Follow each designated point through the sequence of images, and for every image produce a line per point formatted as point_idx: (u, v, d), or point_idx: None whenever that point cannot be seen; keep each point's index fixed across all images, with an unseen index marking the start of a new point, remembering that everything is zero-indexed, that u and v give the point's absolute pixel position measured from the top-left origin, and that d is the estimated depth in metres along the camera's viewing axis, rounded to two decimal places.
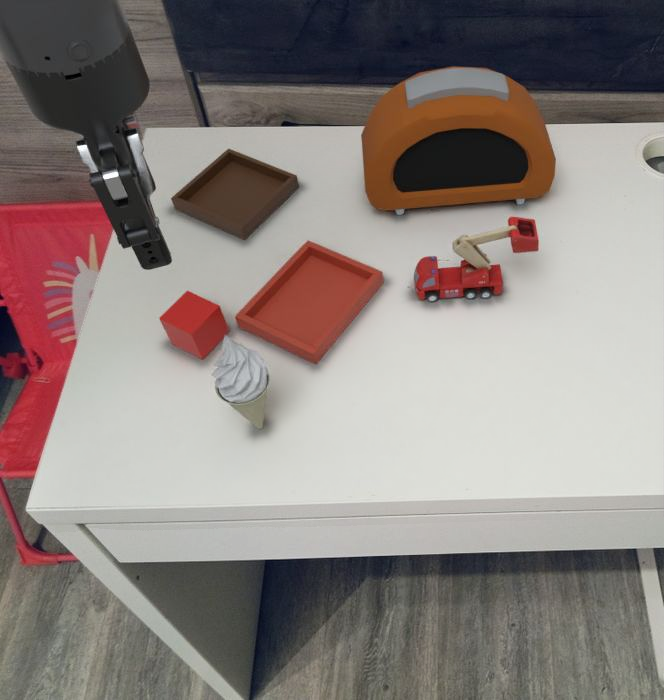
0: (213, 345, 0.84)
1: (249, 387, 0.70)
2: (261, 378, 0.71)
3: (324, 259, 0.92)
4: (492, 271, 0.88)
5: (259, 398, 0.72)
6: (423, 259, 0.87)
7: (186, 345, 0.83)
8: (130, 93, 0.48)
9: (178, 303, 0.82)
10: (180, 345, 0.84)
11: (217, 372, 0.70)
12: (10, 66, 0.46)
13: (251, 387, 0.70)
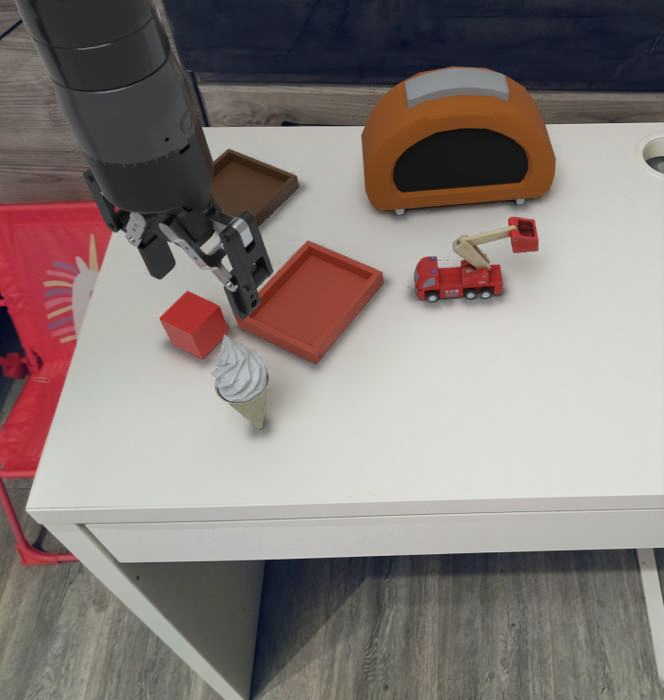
0: (213, 345, 0.84)
1: (249, 386, 0.70)
2: (261, 377, 0.71)
3: (324, 259, 0.92)
4: (492, 271, 0.88)
5: (259, 398, 0.72)
6: (423, 259, 0.87)
7: (186, 345, 0.83)
8: (209, 152, 0.52)
9: (178, 303, 0.82)
10: (180, 345, 0.84)
11: (217, 371, 0.70)
12: (121, 166, 0.47)
13: (251, 386, 0.70)
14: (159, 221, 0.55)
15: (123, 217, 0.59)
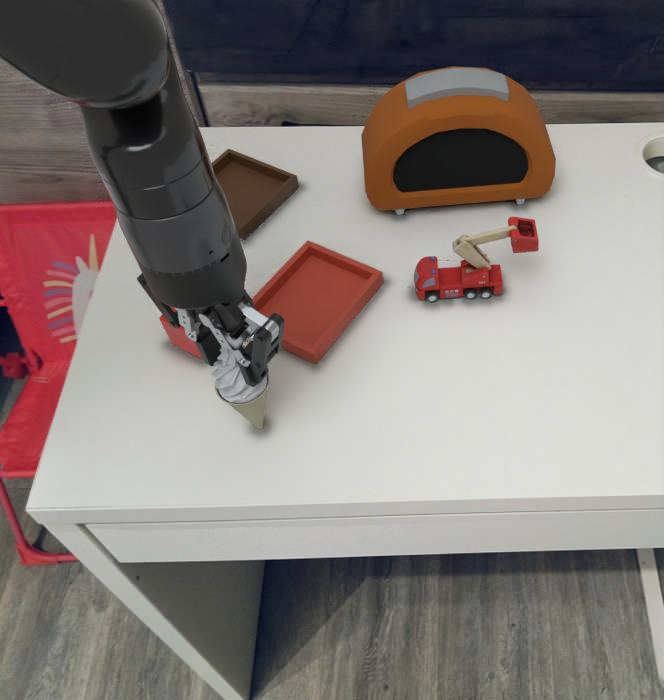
0: None
1: (249, 387, 0.70)
2: None
3: (324, 259, 0.92)
4: (492, 271, 0.88)
5: (259, 398, 0.72)
6: (423, 259, 0.87)
7: (186, 345, 0.83)
8: (243, 254, 0.60)
9: None
10: (180, 345, 0.84)
11: (217, 372, 0.70)
12: (171, 275, 0.55)
13: (251, 387, 0.70)
14: (198, 310, 0.62)
15: None
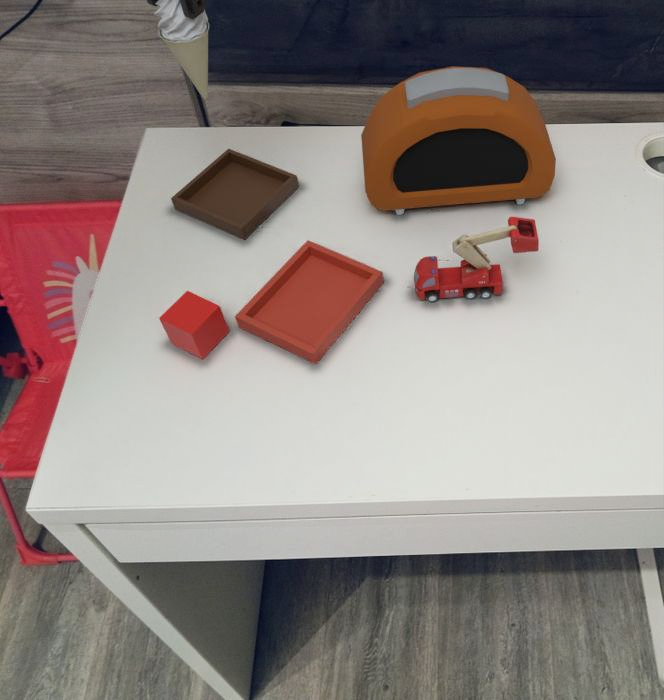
0: (213, 345, 0.84)
1: (188, 24, 0.75)
2: (200, 19, 0.76)
3: (324, 259, 0.92)
4: (492, 271, 0.88)
5: (199, 41, 0.77)
6: (423, 259, 0.87)
7: (186, 345, 0.83)
8: None
9: (178, 303, 0.82)
10: (180, 345, 0.84)
11: None
12: None
13: (190, 24, 0.75)
14: None
15: None
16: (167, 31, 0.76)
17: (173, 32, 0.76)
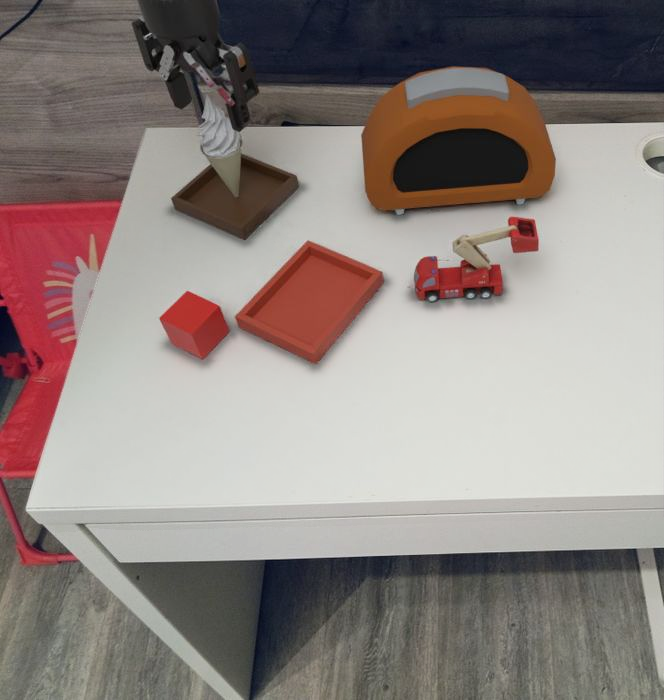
0: (213, 345, 0.84)
1: (226, 143, 0.90)
2: (235, 139, 0.91)
3: (324, 259, 0.92)
4: (492, 271, 0.88)
5: (234, 156, 0.92)
6: (423, 259, 0.87)
7: (186, 345, 0.83)
8: None
9: (178, 303, 0.82)
10: (180, 345, 0.84)
11: (201, 132, 0.90)
12: (162, 2, 0.74)
13: (227, 143, 0.90)
14: (183, 54, 0.82)
15: (157, 60, 0.86)
16: (208, 149, 0.90)
17: (213, 150, 0.91)
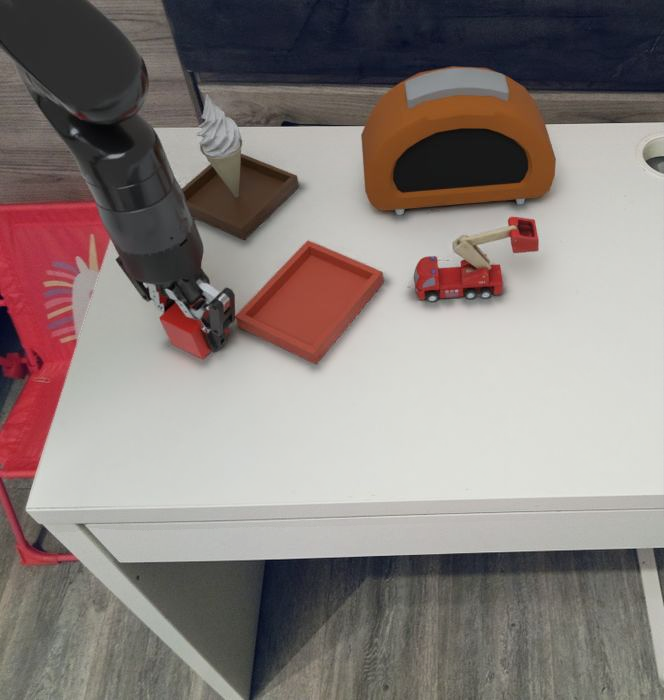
0: None
1: (226, 144, 0.90)
2: (235, 139, 0.91)
3: (324, 259, 0.92)
4: (492, 271, 0.88)
5: (234, 156, 0.92)
6: (423, 259, 0.87)
7: (186, 345, 0.83)
8: (200, 240, 0.75)
9: None
10: (180, 345, 0.84)
11: (201, 132, 0.90)
12: (140, 256, 0.70)
13: (227, 143, 0.90)
14: (165, 286, 0.77)
15: None
16: (208, 149, 0.90)
17: (213, 150, 0.91)
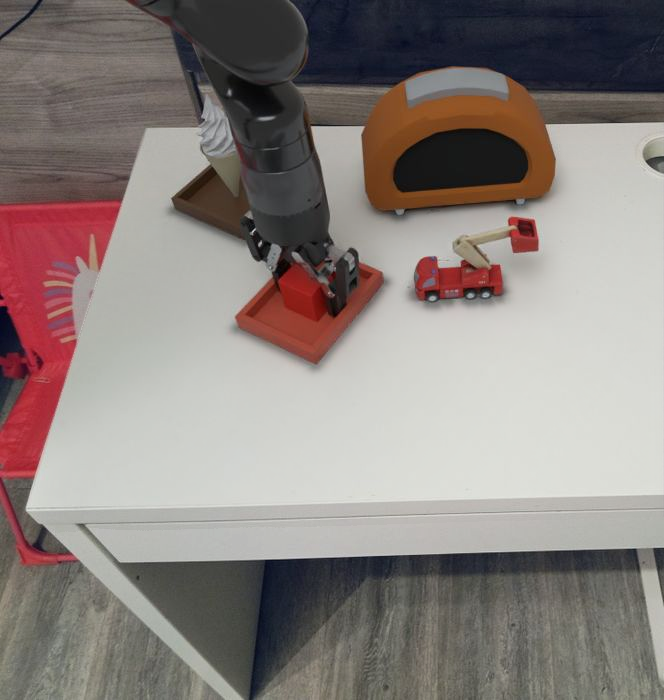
0: (326, 308, 0.87)
1: (225, 143, 0.90)
2: None
3: None
4: (492, 271, 0.88)
5: (234, 156, 0.92)
6: (423, 259, 0.87)
7: (302, 308, 0.86)
8: None
9: (294, 267, 0.85)
10: (295, 308, 0.86)
11: (201, 132, 0.90)
12: (279, 217, 0.73)
13: (227, 143, 0.90)
14: (289, 250, 0.80)
15: (264, 250, 0.85)
16: (208, 149, 0.90)
17: (213, 150, 0.91)
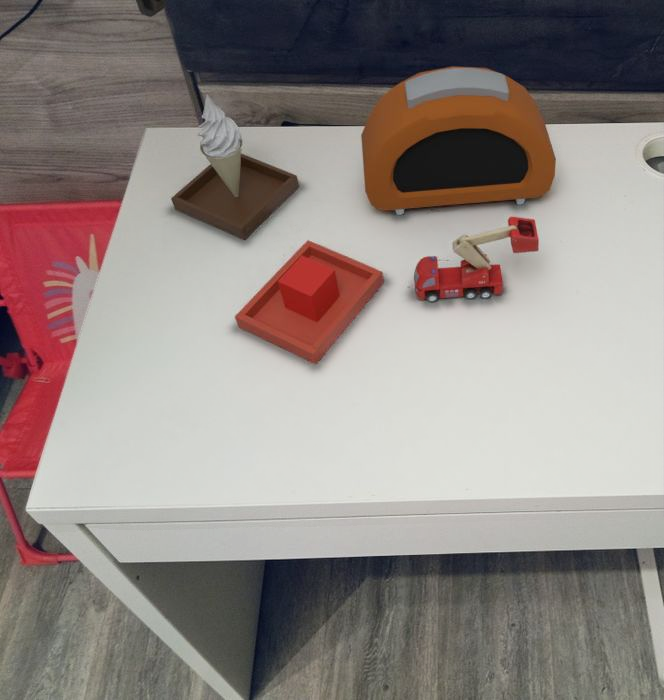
0: (326, 308, 0.87)
1: (226, 144, 0.90)
2: (235, 139, 0.91)
3: (324, 259, 0.92)
4: (492, 271, 0.88)
5: (234, 156, 0.92)
6: (423, 259, 0.87)
7: (302, 308, 0.86)
8: None
9: (294, 267, 0.85)
10: (295, 308, 0.86)
11: (201, 132, 0.90)
12: None
13: (227, 143, 0.90)
14: None
15: None
16: (208, 149, 0.90)
17: (213, 150, 0.91)
